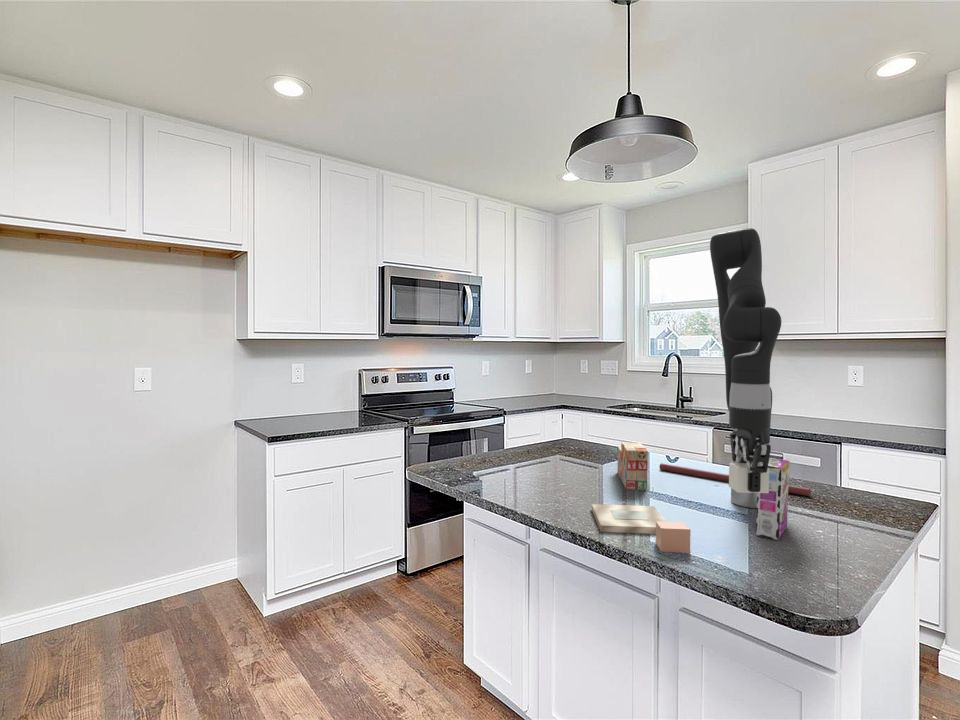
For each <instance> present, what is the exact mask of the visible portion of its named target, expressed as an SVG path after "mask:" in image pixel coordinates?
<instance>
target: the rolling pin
mask: <svg viewBox="0 0 960 720" xmlns="http://www.w3.org/2000/svg"><path fill="white" fill-rule="evenodd" d="M659 470H661V471H666V472H670V473H677V474H683V475H687V476H693V477H698V478H704V479H710V480H711V479H712V480H715V481H721V482H727V483H729V474H727V473H720V472H714V471H709V470H703V469H698V468H691V467H685V466H679V465H673V464H669V463H668V464H667V463H660V464H659ZM788 494H793V495H794V494H795V495H800V496H805V497H810V496H811V495H812V489H811V488H809V487H802V486H797V485H791V484H789V486H788Z"/></svg>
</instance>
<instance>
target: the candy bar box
mask: <svg viewBox="0 0 960 720" xmlns="http://www.w3.org/2000/svg"><path fill="white" fill-rule="evenodd" d="M762 465H763V462H762ZM768 468H769V493H757V508H756V515H755V516H756V519H755V521H756V523H755V536H757V537H760V538H761V537H762V538H765V539H769V540H775V541H779V540H780V539H781V538H782V536H783V534H784V532H785V531H786V530H787V528H788V513H789V511H788V509H789V508H788V506H789V493H788V486H789V485H790V484H789V483H790V482H789V481H790V480H789V479H790V460H786V459H780V458H774V457H773V458H772V457H769V463H768Z"/></svg>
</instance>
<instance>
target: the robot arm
mask: <svg viewBox="0 0 960 720" xmlns="http://www.w3.org/2000/svg"><path fill="white" fill-rule="evenodd" d="M709 249H710V250H709V251H710V252H709V253H710V259H711V264H712V271H713V277H714V282H715V288H716V294H717V300H718V301H717V303H718V304H717V305H718V318H719V327H720V328H719V329H720V337H721V344H722V350H723V360H724V368H725V369H724V372H725V395H726V397H725V398H726V407H727V410H728V413H729V415H728V419H729V420H728V424H729V427H731V428H732V429H733V430H732V432H731V433H730V434H729V440H730V449H731V463H747V469H748V490H749V491H750V492H759V491H760V482H761V473H763V472H764V473H766V472H767V468H768V463H769V458H771V457H770V456H771V449H772V446H771V444H770V443H771V420H772V411H773V410H772V409H773V391H772V388H771V383H770V382H771V380H770V379H771V371H770V370H771V361H772V358H773V352H774V348H775V345H776V343H777V339H778V337H779V334H780V332H781V327H782V317H781V314H780V313H779V311H778V310H777V309H776V308H774V307H771V306H770V307H769V306H766V304H767V302H766V300H767V299H766V295H765V291H764V285H763V279H762V275H763V274H762V273H763V272H762V271H763V257H762V245H761V238H760V235H759V233H758V231H757V230H756V229H754V228H748V227H747V228H741V229H734V230H730V231H726V232H725V231H724V232H719V233H716V234H713V235H712V236H711V238H710V241H709ZM733 269H737V271H735V273H734V274H733V275H732V276H731V278H730V276H729V274H728V270H733ZM762 462H763V465H762ZM730 502H731V503H733V504H735V505H736V506H739V507H744V508H751V509H757V493H738V492H736V491H735V490H733V489H732V488H731V487H730Z"/></svg>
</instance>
